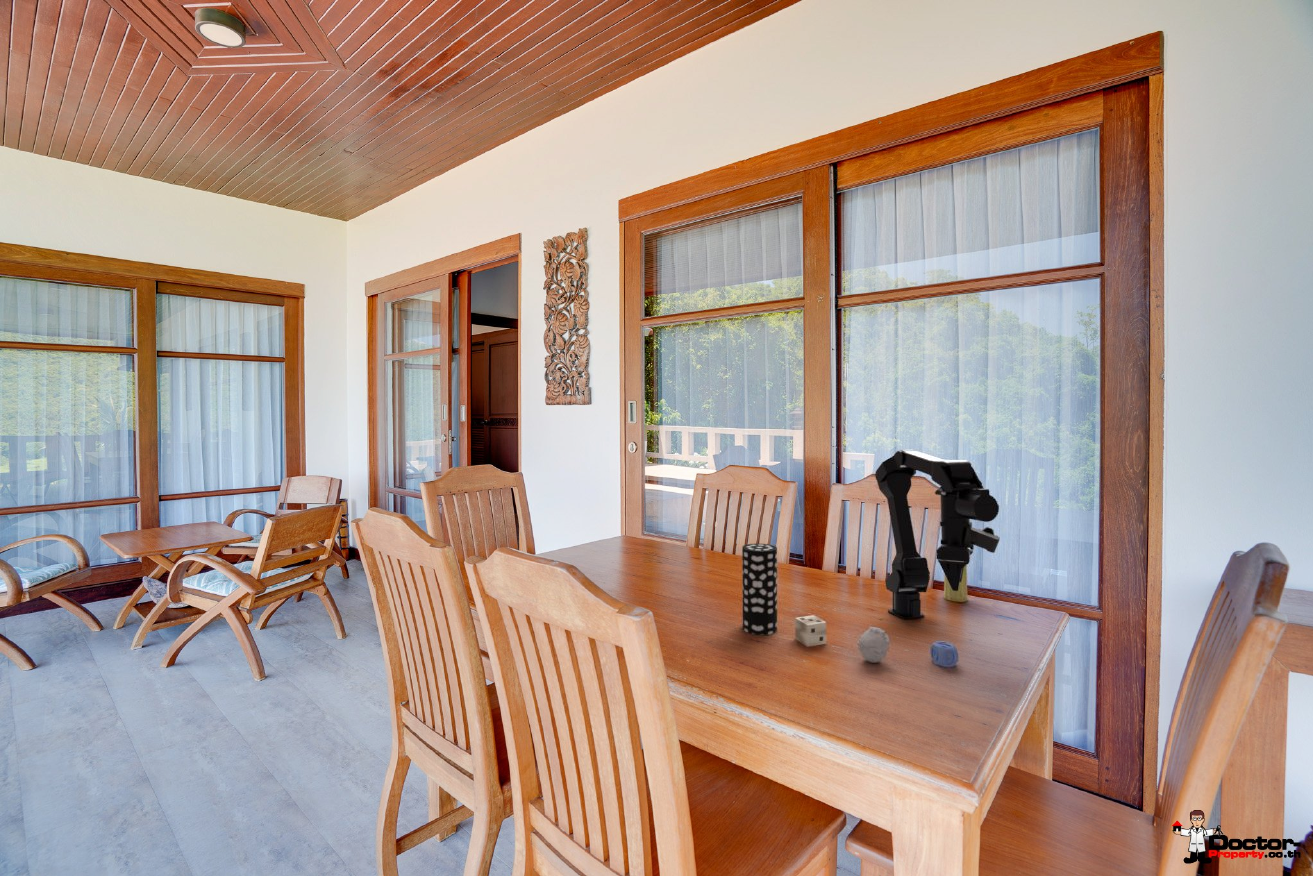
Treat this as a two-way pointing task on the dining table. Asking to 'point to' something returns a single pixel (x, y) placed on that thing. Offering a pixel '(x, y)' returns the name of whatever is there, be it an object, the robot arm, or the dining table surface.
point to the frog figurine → (874, 644)
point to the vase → (962, 591)
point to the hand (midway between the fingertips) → (957, 586)
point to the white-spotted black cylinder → (759, 588)
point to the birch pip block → (810, 630)
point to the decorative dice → (944, 654)
